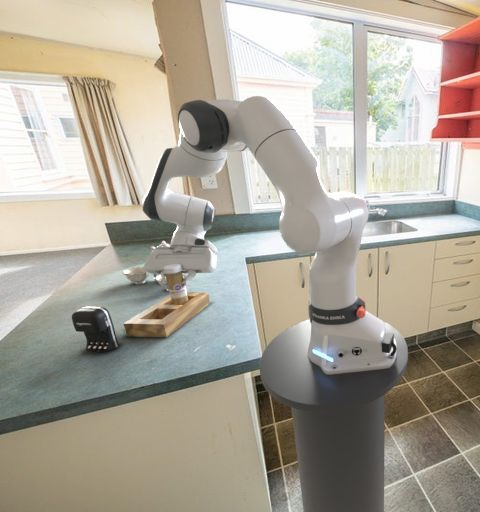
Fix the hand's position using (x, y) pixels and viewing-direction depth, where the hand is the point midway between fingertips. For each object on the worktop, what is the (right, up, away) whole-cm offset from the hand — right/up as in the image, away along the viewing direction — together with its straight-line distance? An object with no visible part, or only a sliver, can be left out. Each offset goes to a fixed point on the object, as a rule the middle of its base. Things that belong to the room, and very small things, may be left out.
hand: (175, 285), depth 91 cm
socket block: (0, -10, -1) cm, 10 cm away
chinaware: (-22, -1, +26) cm, 34 cm away
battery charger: (-8, -15, -16) cm, 23 cm away
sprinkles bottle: (0, -7, +3) cm, 7 cm away
